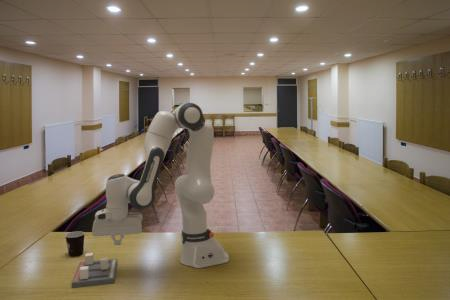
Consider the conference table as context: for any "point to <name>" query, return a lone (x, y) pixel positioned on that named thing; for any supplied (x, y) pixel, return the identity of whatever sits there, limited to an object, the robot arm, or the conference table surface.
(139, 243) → the conference table surface
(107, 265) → the block
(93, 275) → the panel
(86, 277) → the block
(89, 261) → the block
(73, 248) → the coffee mug
